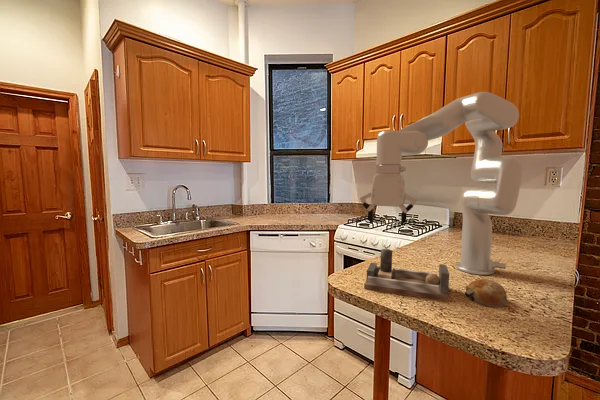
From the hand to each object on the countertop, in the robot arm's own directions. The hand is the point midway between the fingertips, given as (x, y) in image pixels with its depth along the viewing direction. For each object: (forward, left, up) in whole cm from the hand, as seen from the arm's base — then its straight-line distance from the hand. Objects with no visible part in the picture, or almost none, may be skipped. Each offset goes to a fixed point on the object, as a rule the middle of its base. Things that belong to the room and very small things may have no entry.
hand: (386, 223), depth 92 cm
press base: (-6, 0, -20) cm, 21 cm away
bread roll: (-28, +1, -21) cm, 35 cm away
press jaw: (-1, 0, -18) cm, 19 cm away
